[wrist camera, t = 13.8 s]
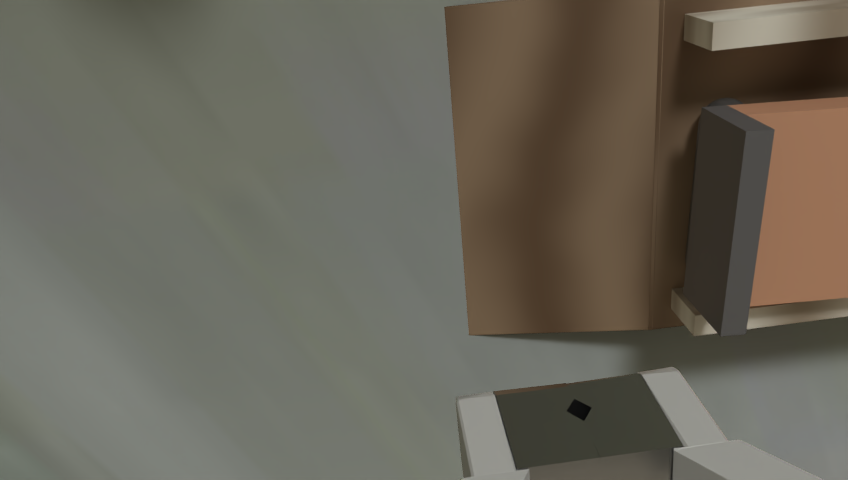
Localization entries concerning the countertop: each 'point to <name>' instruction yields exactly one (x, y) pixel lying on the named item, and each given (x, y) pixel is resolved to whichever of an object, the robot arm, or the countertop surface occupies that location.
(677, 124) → the loading dock
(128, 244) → the countertop surface
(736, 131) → the trolley
